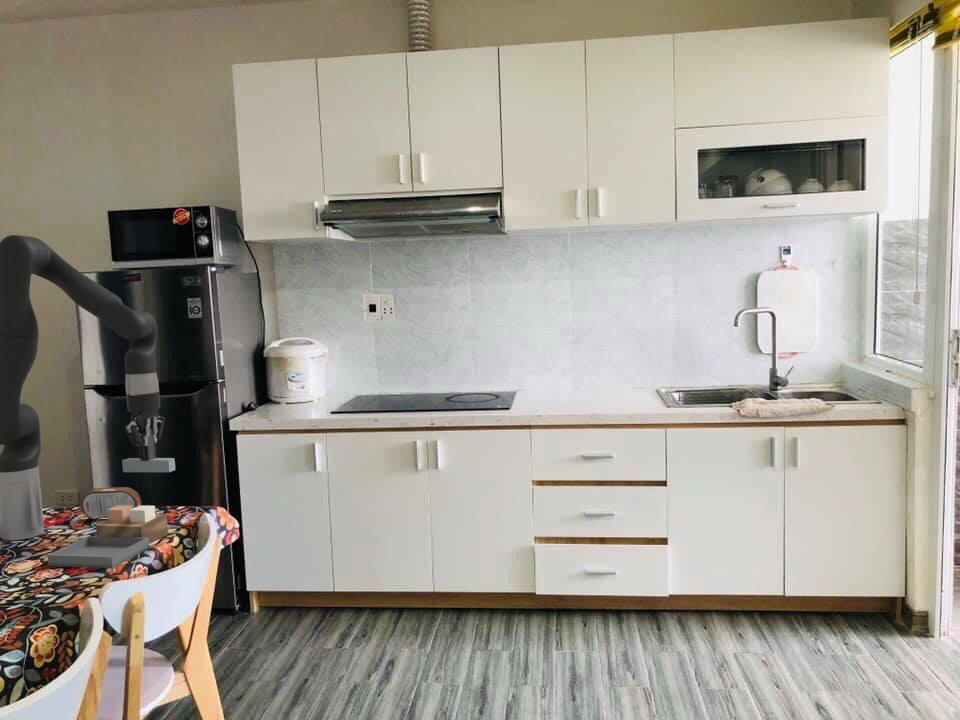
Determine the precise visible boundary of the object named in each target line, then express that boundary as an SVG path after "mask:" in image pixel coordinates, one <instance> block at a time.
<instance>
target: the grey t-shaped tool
mask: <svg viewBox="0 0 960 720" xmlns="http://www.w3.org/2000/svg"><path fill="white" fill-rule="evenodd" d="M152 431H153V430H152V429H150V435H149V436H148V445H147V446H149V458H150V459H149V460H148V461H141V460H140V457H131V458H130V457H129V458H126V459H122V460H121V462H122V463H121V464H122V472H123V473H171V472H173V471H176V461H175V458H173V457H165V458H164V457H156V458H155V455H154V441H153V433H152ZM139 433H145V432H139ZM141 438H142V440H143V437H141Z"/></svg>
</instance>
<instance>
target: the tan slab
mask: <svg viewBox="0 0 960 720" xmlns="http://www.w3.org/2000/svg"><path fill="white" fill-rule="evenodd" d="M155 517H156V518H154V519H152V520H150V521H148V522H146V523H135V522H130V519H129V520H127V521H124V522H108V520H104V521H103V522H100V523H99V524H96V525H95V528H96V529H95V530H96V536H105V537H140V538H149V545H151V544H152V543H154V542H155V541H157V540H159V539H161V538H163V537H165V536H166V535H168V534H169V530H168V529H169V528H168V527H169V526H168V516H167V514H166V513H155Z"/></svg>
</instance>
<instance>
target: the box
mask: <svg viewBox="0 0 960 720" xmlns="http://www.w3.org/2000/svg"><path fill="white" fill-rule="evenodd" d="M149 549H150V544H149V538H140V537H105V536H97V535H88V536H85V537H84V538H82V539H79V540H77V541H75V542H72V543H70V544H68V545H66V546H64V547H61V548H60V549H58V550H55V551H53V552H51V553H49V554H47V565H48V567H64V568H68V567H69V568H92V569H95V568H96V569H114V568H116V567H118V566H120V565H122V564H123V563H125V562H126V561H128V560H130V559H132V558H134V557H136V556H138V555H139V554H142V553H143V552H145V551H147V550H149ZM117 565H118V566H117ZM115 566H116V567H115ZM113 567H114V568H113Z"/></svg>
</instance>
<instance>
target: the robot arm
mask: <svg viewBox="0 0 960 720" xmlns="http://www.w3.org/2000/svg"><path fill="white" fill-rule="evenodd" d="M32 275H35V276H38V277H40V278H42V279H45V280H46V281H49V282H51V283H52V284H54V285H55V286H57V287H58V288H59V289H60V290H62V291H63V292H64V293H65V294H66V295H67V296H68V297H69V298H70V300H72V301H73V302H74V303H75V304H76V305H77V306H79V307H81V309H82V310H85V311H86V312H88V313H89V314H91V315H93V316H94V317H96V318H98V319H99V320H102V321H103V323H104V324H105V325H106V326H107V327H109V328H110V330H112V331H113V332H115V334H117V335H118V336H120V337H121V338H124V339H127V340H129V348H128V350H127V351H126V353H125V354H124V367H125V368H124V369H125V392H126V393H125V394H126V405H127V406H126V407H127V411H128V412H130V413H131V417H130V423H129V424H125V425H124V431H125V434H126V436H127V437H128V439H129V441H130V443H131V445H132V446H136V447H138V455H139V457H138V458H140V460H141V461H148V460H149V459H150V458H149V446H147V445H148V436H149V435H150V429H152V430H153V431H152V433H153V441H154V455H155V458H157V442H158V441H159V440H161V439H162V436H163V435H162V434H163V430H164V426H165V421H166V417H165V416H160V415H159V413H158V410H159V409H160V408H161V399H160V398H161V397H160V386H159V379H158V375H157V363H156V362H157V361H156V349H157V342H158V341H157V340H158V325H157V321H156V319H155V317H154V316H153V315H152V314H151V313H149V312H148V311H142V310H140V311H136V310H133V309H132V308H130V307H128V306H126V305H125V304H124V303H123V300H122V299H121V297H119V296H118V295H117V294H115V293H113V292H112V291H110V290H109V289H107V288H106V287H104V286H103V285H101V284H99V283H98V282H96V281H95V280H93V279H92V278H89V277H88V276H86V275H85V274H84V273H82V272H81V271H79V270H78V269H76V268H75V267H74V266H73V265H71V264H69V263H68V261H66V260H65V259H64V258H62V257H61V256H60V255H59V254H58V253H57V252H56V251H54V250H53V248H51V247H50V246H49V245H48V244H47V243H45V242H44V241H43V240H42V239H40V238H38V237H37V238H36V237H33V236H27V235H21V234H11V235H8V236H6V237H3V239H1V241H0V446H2V445H3V448H2V451H1V453H0V539H2V540H4V541H19V540H25V539H31V538H34V537H37V536H40V535H42V534H44V533H45V526H44V525H45V523H44V513H43V512H44V511H43V501H42V489H41V479H40V468H39V458H40V454H41V450H42V449H41V426H40V419H39V416H38V414H37V411H36V410H35V409H34V408H33V407H32V406H30V405H29V404H26V403H21V395H22V389H23V386H24V383H25V381H26V379H27V377H28V375H29V373H30V371H31V369H32V368H33V365H34V364H35V363H34V362H35V360H36V358H37V354H38V345H39V332H40V331H39V324H38V320H37V317H36V313H35V311H34V307H33V305H32V302H31V301H32V300H31V297H30V295H31V292H30V287H31V279H32ZM139 432H145V433H139ZM141 437H143V440H142V438H141Z"/></svg>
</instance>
